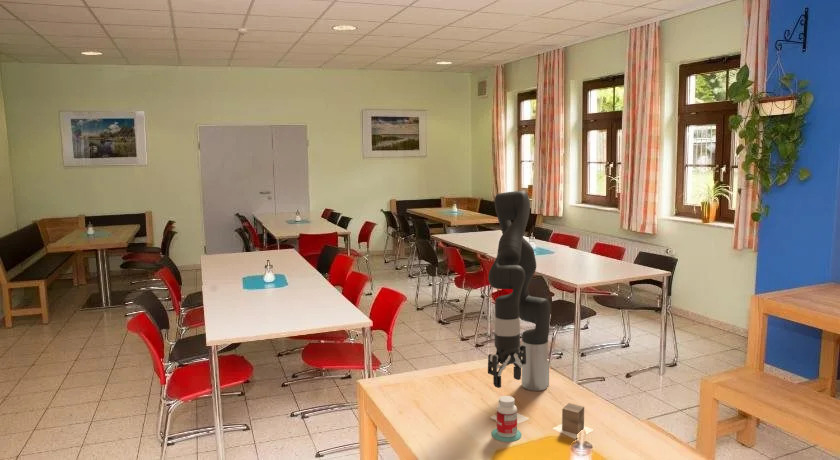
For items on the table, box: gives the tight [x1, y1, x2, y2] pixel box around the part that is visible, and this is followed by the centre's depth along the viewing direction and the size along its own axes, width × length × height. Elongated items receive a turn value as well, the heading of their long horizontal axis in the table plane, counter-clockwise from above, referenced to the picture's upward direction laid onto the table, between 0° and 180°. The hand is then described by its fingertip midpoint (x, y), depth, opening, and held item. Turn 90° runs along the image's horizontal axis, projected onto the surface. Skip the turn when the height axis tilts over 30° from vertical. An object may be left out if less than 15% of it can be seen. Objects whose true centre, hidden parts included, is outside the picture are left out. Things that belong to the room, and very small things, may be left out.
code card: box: [489, 412, 530, 425], centre depth 192 cm, size 9×9×1 cm
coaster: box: [491, 427, 522, 443], centre depth 181 cm, size 9×9×1 cm
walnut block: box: [561, 402, 585, 434], centre depth 183 cm, size 5×5×7 cm
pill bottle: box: [496, 395, 518, 437], centre depth 181 cm, size 6×6×11 cm
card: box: [552, 423, 594, 440], centre depth 184 cm, size 9×9×1 cm
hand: (507, 383), depth 179 cm, fingers open, 8 cm apart
